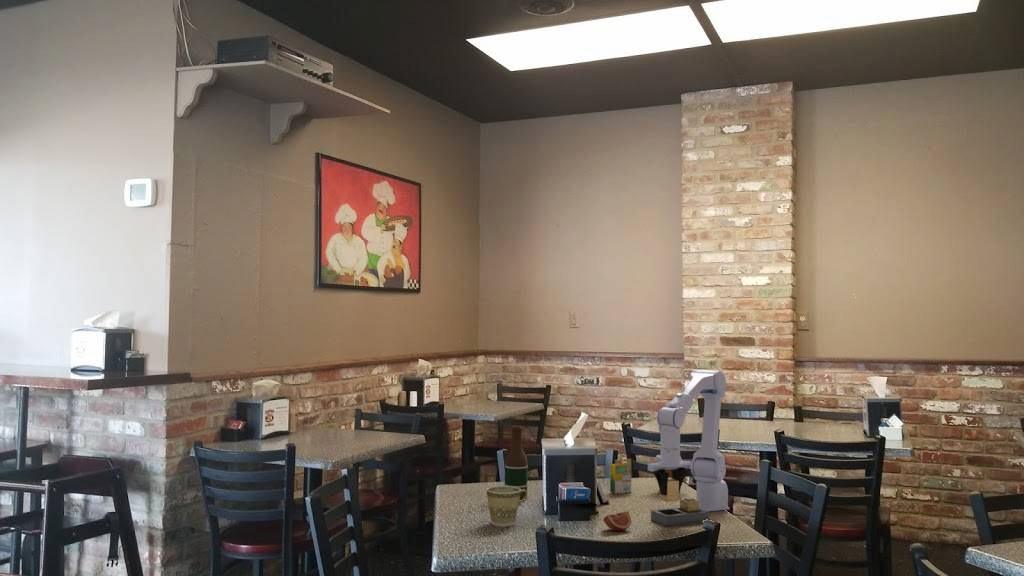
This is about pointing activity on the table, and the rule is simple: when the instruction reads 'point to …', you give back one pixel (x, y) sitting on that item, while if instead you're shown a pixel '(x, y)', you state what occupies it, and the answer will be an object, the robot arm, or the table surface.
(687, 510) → the tray
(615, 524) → the fruit slice
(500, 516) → the ceramic cup
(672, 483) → the beige small block
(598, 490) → the hinge
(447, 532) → the table surface
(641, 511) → the table surface
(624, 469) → the crayon box
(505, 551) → the table surface
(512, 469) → the beer bottle
